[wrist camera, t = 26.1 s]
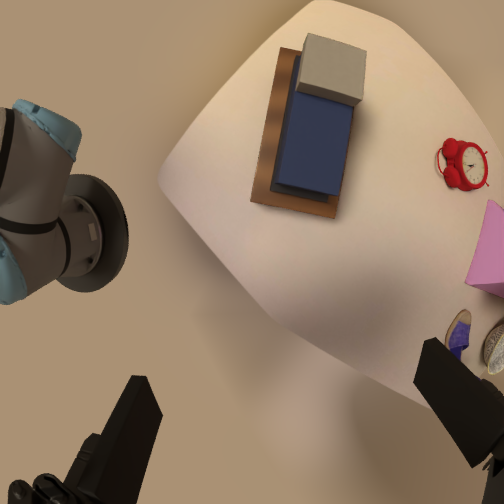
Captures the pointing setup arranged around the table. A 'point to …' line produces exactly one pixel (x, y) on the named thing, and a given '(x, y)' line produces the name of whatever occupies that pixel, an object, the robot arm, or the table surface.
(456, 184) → the alarm clock
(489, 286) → the pink table lamp
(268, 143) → the low wooden table
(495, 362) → the bowl
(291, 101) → the stacked block toy
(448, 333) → the sandal
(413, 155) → the table surface
